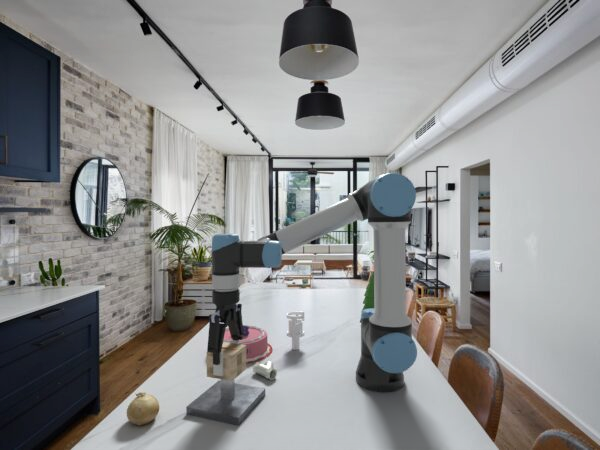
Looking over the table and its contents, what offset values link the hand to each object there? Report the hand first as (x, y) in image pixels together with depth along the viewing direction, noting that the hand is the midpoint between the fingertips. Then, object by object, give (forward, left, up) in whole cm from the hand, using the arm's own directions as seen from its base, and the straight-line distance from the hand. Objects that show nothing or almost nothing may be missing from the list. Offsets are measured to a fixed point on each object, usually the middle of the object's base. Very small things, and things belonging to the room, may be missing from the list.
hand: (226, 368), depth 101 cm
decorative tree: (-31, -64, -11) cm, 72 cm away
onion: (+17, +14, -11) cm, 24 cm away
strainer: (-4, -45, -11) cm, 46 cm away
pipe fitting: (-3, -21, -11) cm, 24 cm away
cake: (+15, -36, -11) cm, 40 cm away
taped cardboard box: (0, 0, -1) cm, 1 cm away
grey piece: (0, 0, -10) cm, 10 cm away
